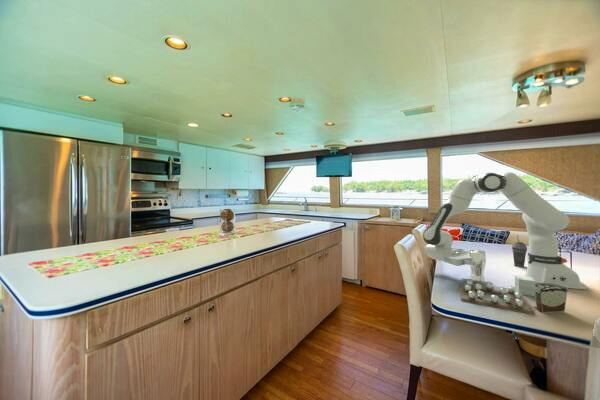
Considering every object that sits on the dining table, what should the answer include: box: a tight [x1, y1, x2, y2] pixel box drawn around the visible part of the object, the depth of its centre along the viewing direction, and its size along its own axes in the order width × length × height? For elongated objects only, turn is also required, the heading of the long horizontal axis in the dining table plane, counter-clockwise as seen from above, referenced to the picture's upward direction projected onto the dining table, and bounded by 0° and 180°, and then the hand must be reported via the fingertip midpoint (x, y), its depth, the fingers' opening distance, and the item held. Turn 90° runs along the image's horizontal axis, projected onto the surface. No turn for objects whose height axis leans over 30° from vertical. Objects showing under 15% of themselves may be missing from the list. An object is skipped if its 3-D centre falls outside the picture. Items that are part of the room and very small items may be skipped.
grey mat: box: [461, 277, 496, 290], centre depth 127 cm, size 13×12×1 cm
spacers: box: [465, 280, 523, 309], centre depth 110 cm, size 20×17×4 cm
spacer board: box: [459, 284, 534, 315], centre depth 110 cm, size 24×18×1 cm
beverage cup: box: [511, 234, 528, 268], centre depth 154 cm, size 7×7×20 cm
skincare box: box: [514, 275, 537, 297], centre depth 116 cm, size 6×6×7 cm
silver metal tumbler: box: [469, 249, 487, 282], centre depth 127 cm, size 7×7×15 cm
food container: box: [533, 282, 570, 314], centre depth 100 cm, size 12×6×10 cm, turn 92°
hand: (479, 262), depth 126 cm, fingers closed on silver metal tumbler, 6 cm apart
